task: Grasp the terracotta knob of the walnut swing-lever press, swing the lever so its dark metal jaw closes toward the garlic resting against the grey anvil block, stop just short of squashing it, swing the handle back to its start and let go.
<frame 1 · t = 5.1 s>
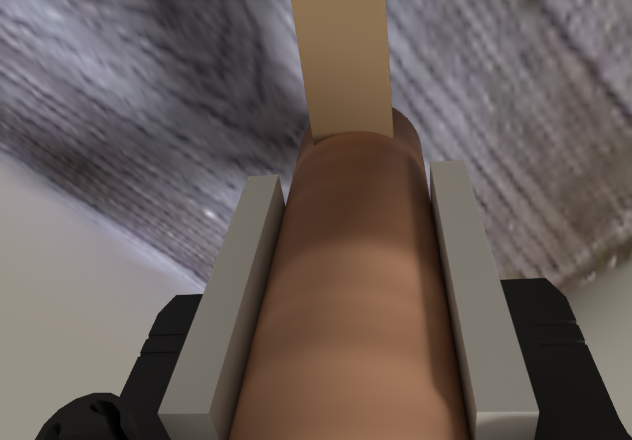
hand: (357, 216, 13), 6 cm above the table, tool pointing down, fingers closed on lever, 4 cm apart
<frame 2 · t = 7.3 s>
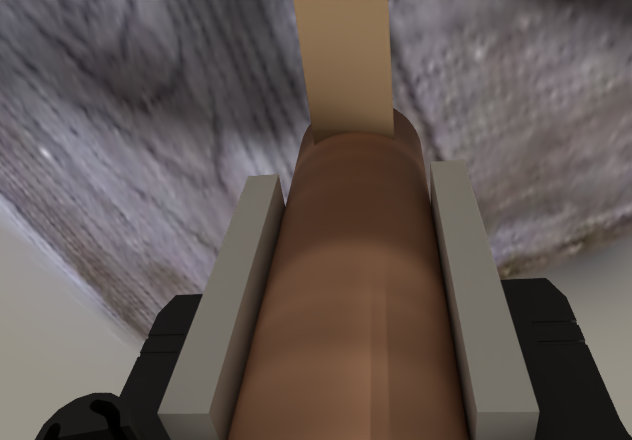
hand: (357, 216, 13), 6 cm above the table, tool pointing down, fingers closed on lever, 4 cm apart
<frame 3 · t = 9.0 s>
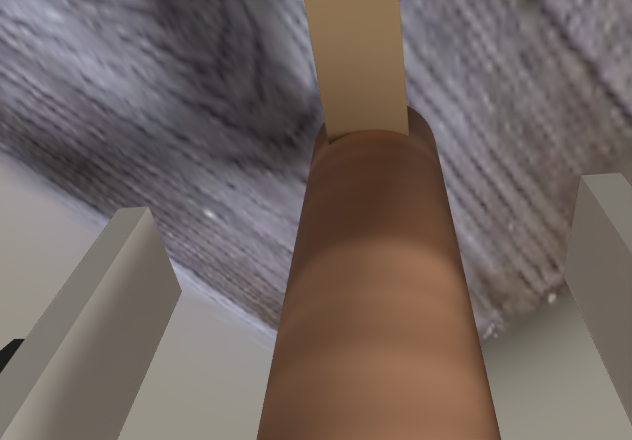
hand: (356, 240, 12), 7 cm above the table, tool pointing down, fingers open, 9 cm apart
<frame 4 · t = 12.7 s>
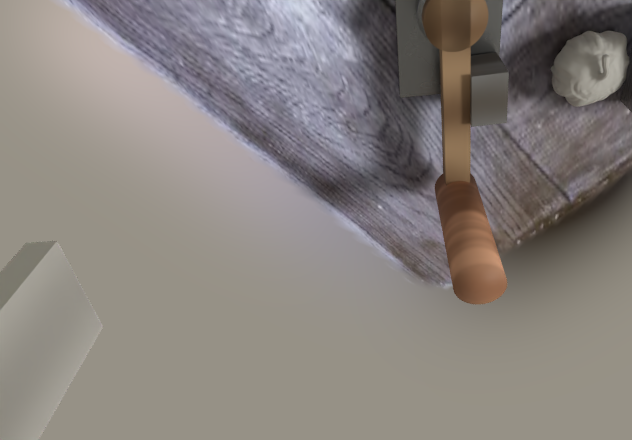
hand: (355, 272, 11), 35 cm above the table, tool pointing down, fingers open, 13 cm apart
press base: (447, 3, 40), on the table
lever: (473, 135, 37), point 8 cm above the table, hinge at 1.6°
garlic: (578, 57, 42), on the table
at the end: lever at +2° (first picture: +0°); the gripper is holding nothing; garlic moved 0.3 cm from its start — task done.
